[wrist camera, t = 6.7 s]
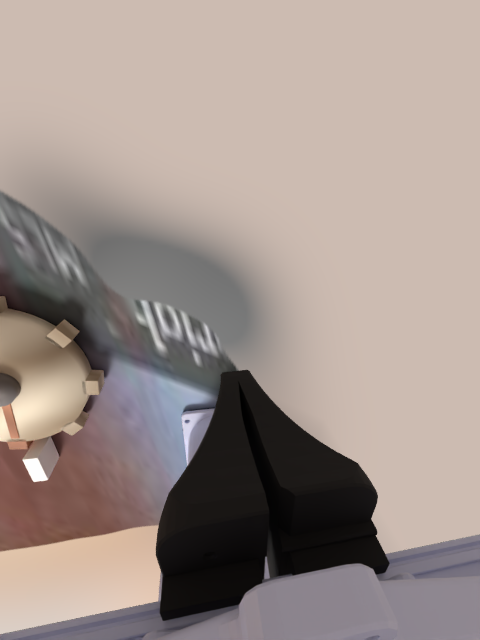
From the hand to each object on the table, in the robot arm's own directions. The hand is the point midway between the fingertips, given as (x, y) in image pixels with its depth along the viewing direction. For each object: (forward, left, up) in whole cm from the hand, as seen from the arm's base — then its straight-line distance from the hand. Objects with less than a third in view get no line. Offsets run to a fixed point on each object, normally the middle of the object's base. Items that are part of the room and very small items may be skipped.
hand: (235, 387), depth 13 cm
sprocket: (-5, +17, -10) cm, 21 cm away
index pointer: (-14, +17, -10) cm, 24 cm away
